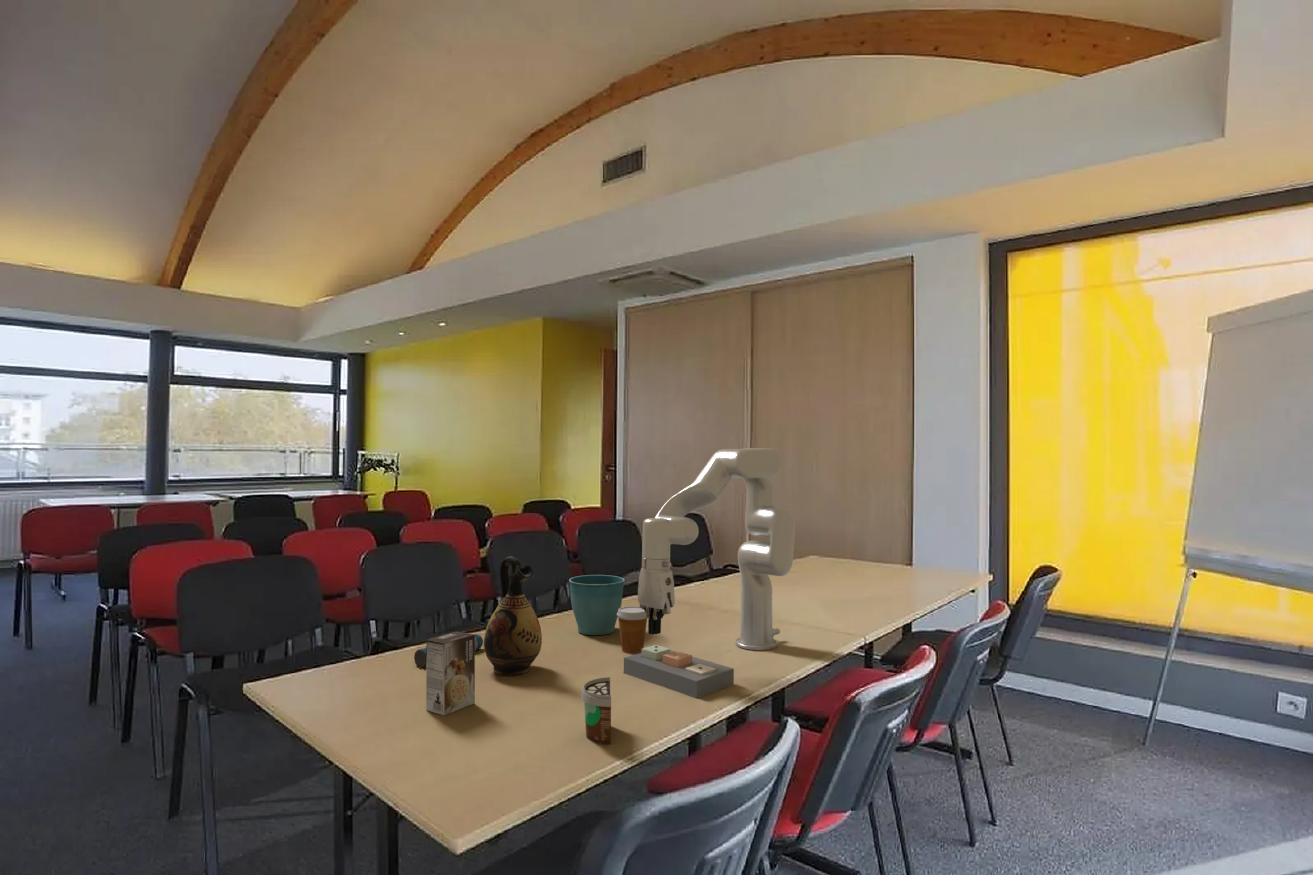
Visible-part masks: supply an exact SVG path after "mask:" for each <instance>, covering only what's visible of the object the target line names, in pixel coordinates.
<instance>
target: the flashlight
mask: <svg viewBox="0 0 1313 875" xmlns="http://www.w3.org/2000/svg"><path fill="white" fill-rule="evenodd" d="M473 634H474V635H475V652H476V651H478V650H481V648H482V646H484V638H483V637H482V635H481V634H478V633H473ZM413 659H414V663H415V665H416V666H417V667H419V668H426V647H422V648H420V649H417V650H416V651H415V652H414V657H413Z"/></svg>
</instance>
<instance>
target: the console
mask: <svg viewBox="0 0 1313 875" xmlns="http://www.w3.org/2000/svg"><path fill="white" fill-rule="evenodd" d="M672 652H675V650H671V649H670V653H672ZM697 664H702V665H706V666H709V667H713V668H716V671H713V672H710V673H707V674H704V675H698V674H695V673H692V672H689V671H685V668H687V667H691V666H694V665H697ZM734 669H735V668H733V667H729V666H726V665H722V664H718V663H716V662H712V661H709V660H706V659H702V658H699V657H695V656H692V664H689V665H686V666H683V667H680V668H676V667H673V666H669V665H666V664H663V659H661V660H658V661H654V660H650V659H647V658H644V657H642V652H638V653H635V654H632V655H628V656H625V657H623V674H625V675H628V676H632V677H634V678H637V679H640V680H643V681H646V682H648V683H652V684H655V685H658V686H660V687H662V688H663V687H664V688H666V689H669V690H672V691H675V692H678V693H681V694H683V695H686V696H689V697H693V698H695V699H697V698H701V697H703V696H706V695H708V694H713V692H717V691H720V690H722V689H726V688H729V687H731V686H733V685H734V684H735V677H734V676H735V674H734V673H735V672H734V671H735V670H734Z"/></svg>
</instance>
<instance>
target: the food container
mask: <svg viewBox="0 0 1313 875" xmlns="http://www.w3.org/2000/svg"><path fill="white" fill-rule="evenodd" d="M580 699H581V700H582V701H583V705H584V722H585V736H586V739H587V740H589V741H591V742H593V743H596V744H602V745H612V737H611V736H612V695H611V677H610V676H608V677H607V676H606V677H598V678H595V679H591V680H589V681H587V682H585V683H584V685H583V686H582V689H581V695H580Z"/></svg>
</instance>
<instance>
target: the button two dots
mask: <svg viewBox="0 0 1313 875" xmlns="http://www.w3.org/2000/svg"><path fill="white" fill-rule="evenodd" d="M670 650H671V648H669V647H666V646H662V645H657V644H654V645H650V646H647V647H643V649H642V651H641V653H642V657H644V658H647V659H650V660H654V661H658V660H661V659H663V655H665V654H668V653H670Z"/></svg>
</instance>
